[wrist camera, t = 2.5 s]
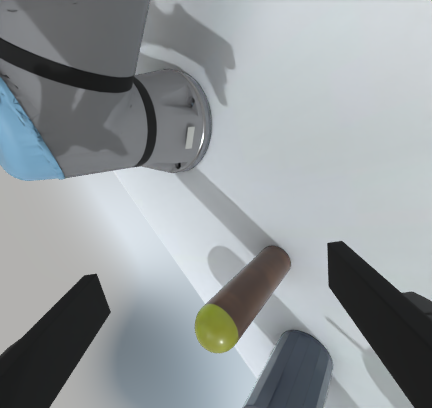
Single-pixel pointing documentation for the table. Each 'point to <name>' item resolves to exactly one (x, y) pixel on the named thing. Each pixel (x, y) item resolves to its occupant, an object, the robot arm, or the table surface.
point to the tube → (293, 374)
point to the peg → (240, 300)
